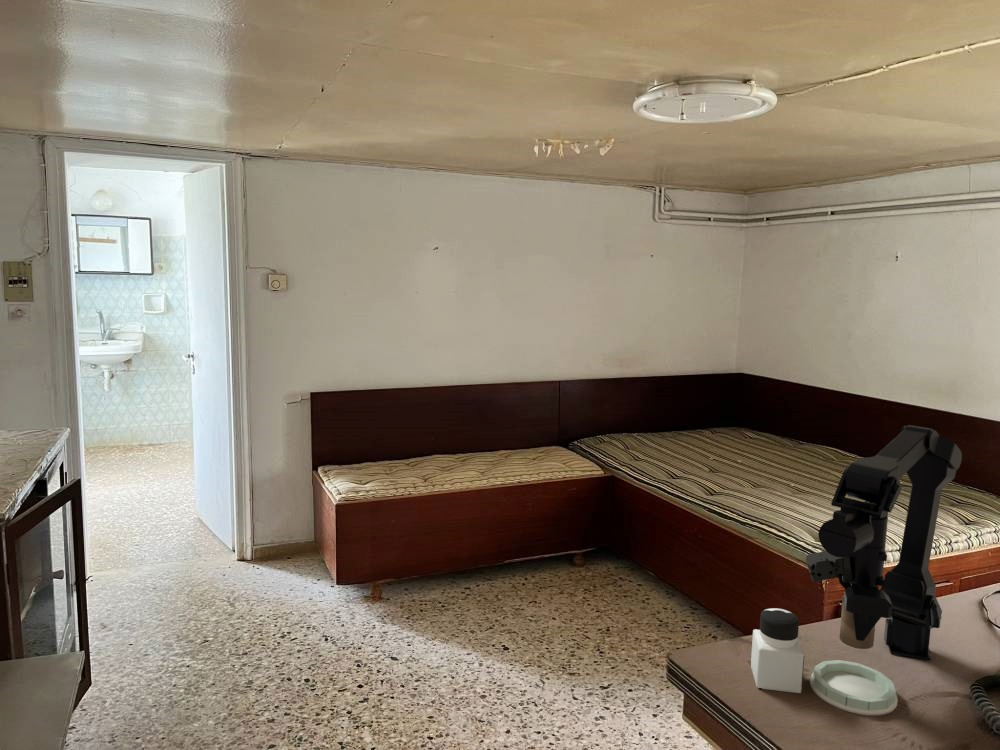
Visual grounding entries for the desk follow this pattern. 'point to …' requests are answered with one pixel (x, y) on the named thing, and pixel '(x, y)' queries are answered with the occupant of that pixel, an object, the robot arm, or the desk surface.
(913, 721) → the desk surface
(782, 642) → the medicine bottle
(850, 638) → the brown domed cylinder
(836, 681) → the ring dish
